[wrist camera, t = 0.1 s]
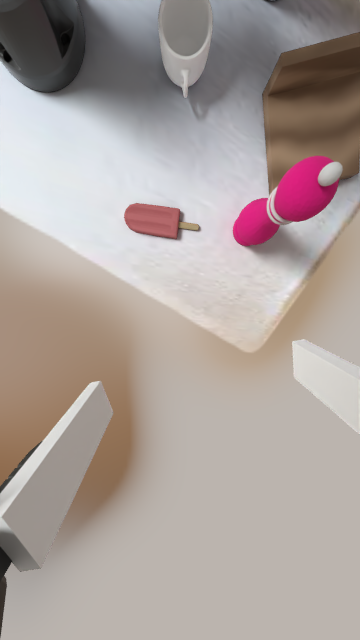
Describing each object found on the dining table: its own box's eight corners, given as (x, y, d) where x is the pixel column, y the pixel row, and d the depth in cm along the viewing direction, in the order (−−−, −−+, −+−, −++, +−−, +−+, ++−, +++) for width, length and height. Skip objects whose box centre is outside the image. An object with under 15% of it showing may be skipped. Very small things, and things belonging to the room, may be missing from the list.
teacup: (160, 37, 27) (155, -21, 22) (206, 36, 27) (213, -22, 22) (163, 115, 30) (160, 80, 24) (206, 113, 30) (212, 78, 24)
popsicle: (197, 240, 34) (123, 230, 33) (196, 242, 35) (125, 232, 35) (201, 211, 32) (124, 199, 32) (200, 214, 34) (127, 203, 33)
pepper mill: (229, 248, 35) (293, 214, 16) (231, 210, 34) (305, 119, 14) (263, 248, 35) (367, 212, 16) (266, 209, 34) (388, 117, 14)
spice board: (262, 94, 29) (281, 53, 24) (354, 70, 28) (395, 22, 23) (269, 196, 33) (287, 181, 28) (350, 177, 32) (384, 157, 27)
